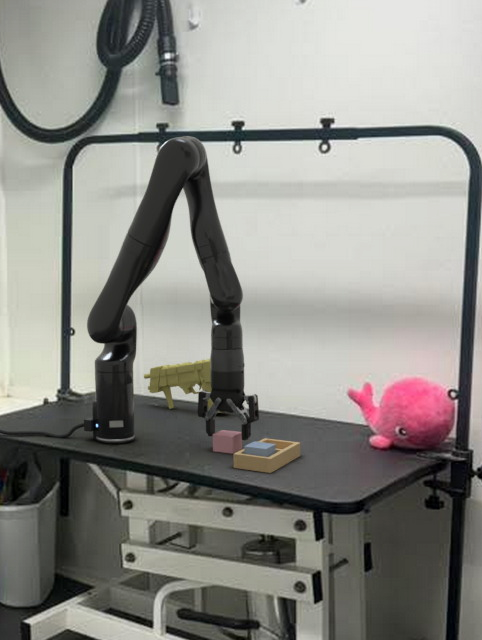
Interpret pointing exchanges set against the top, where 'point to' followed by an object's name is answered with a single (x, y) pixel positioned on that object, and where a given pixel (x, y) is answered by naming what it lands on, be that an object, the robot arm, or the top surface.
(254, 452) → the blue block
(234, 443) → the pink block
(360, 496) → the top surface
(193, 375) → the firearm
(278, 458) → the pad holder
